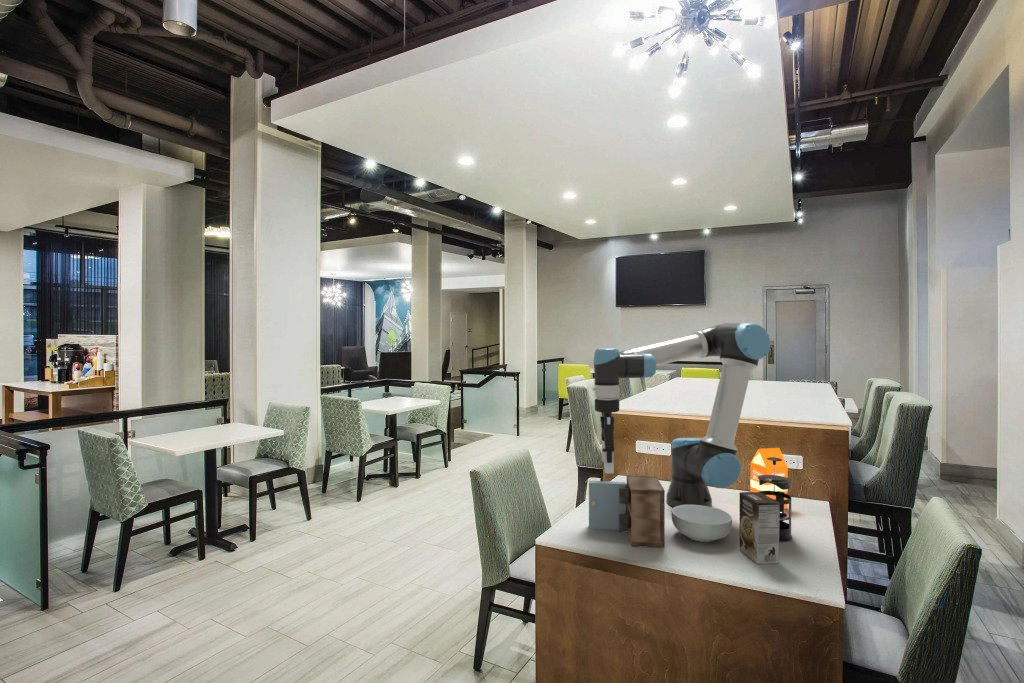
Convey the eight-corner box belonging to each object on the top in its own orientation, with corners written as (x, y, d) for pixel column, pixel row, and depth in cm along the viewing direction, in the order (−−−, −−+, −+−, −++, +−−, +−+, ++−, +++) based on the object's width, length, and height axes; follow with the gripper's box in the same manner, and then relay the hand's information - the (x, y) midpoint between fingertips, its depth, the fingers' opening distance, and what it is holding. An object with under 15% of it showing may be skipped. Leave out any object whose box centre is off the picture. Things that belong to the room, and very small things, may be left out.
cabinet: (655, 526, 160) (655, 474, 159) (664, 547, 143) (664, 490, 143) (617, 524, 161) (617, 473, 161) (622, 545, 145) (622, 489, 145)
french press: (785, 545, 145) (786, 464, 144) (750, 536, 151) (751, 458, 151) (797, 533, 153) (798, 456, 153) (764, 525, 160) (764, 451, 159)
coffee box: (738, 549, 142) (738, 491, 142) (760, 549, 142) (760, 491, 142) (756, 564, 133) (756, 502, 133) (780, 563, 133) (780, 501, 133)
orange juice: (787, 508, 175) (788, 450, 175) (765, 510, 173) (766, 451, 173) (771, 501, 183) (771, 445, 183) (749, 503, 181) (750, 446, 181)
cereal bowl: (733, 552, 140) (733, 527, 140) (669, 544, 146) (669, 519, 146) (730, 530, 156) (730, 507, 156) (672, 523, 162) (673, 501, 162)
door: (624, 526, 159) (624, 481, 159) (625, 531, 155) (625, 485, 155) (588, 525, 160) (588, 480, 160) (589, 529, 157) (589, 484, 157)
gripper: (593, 393, 171) (593, 457, 171) (596, 404, 146) (597, 478, 146) (615, 393, 170) (616, 457, 170) (623, 404, 145) (624, 478, 145)
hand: (607, 467), depth 158 cm, fingers open, 13 cm apart
